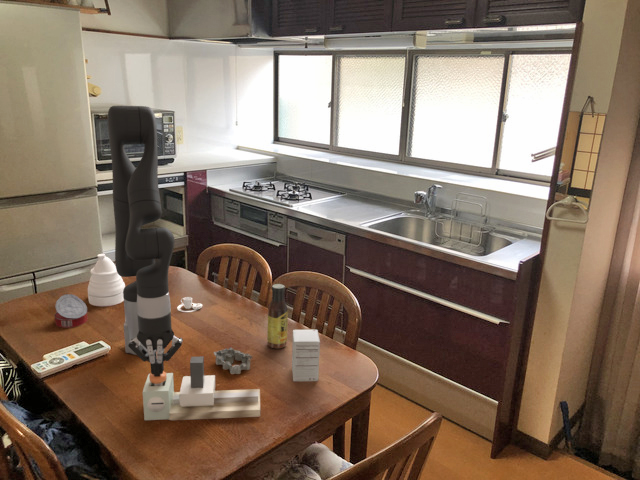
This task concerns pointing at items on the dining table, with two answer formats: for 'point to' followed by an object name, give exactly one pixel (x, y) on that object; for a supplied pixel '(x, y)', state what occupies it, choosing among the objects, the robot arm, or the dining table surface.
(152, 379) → the plunger
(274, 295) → the sauce bottle
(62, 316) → the canned food
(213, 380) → the carriage
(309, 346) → the supplement box
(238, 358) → the grey jagged ring
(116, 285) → the honey pot
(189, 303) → the teacup and saucer
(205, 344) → the dining table surface
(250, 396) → the rail board
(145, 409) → the cabinet
